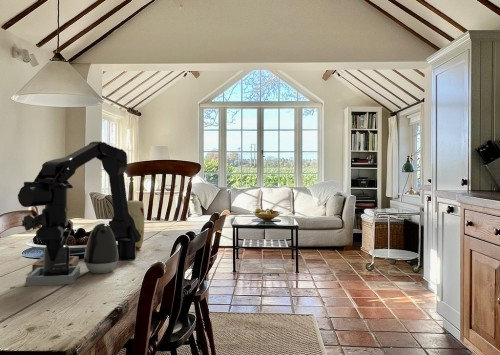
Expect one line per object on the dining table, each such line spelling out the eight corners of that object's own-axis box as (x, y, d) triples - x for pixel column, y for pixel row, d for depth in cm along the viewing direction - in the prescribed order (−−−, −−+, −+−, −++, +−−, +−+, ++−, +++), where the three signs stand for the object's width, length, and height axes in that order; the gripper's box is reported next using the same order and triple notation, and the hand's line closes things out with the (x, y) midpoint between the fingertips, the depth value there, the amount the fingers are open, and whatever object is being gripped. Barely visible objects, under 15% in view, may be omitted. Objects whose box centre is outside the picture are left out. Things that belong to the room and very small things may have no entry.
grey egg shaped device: (85, 277, 122) (86, 226, 122) (82, 269, 131) (83, 222, 131) (121, 273, 127) (122, 224, 127) (115, 266, 136) (116, 220, 136)
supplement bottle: (59, 281, 115) (59, 238, 115) (37, 279, 117) (38, 237, 117) (74, 275, 122) (74, 235, 122) (53, 273, 123) (54, 234, 123)
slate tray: (80, 273, 126) (80, 266, 126) (73, 283, 115) (73, 275, 115) (37, 274, 124) (37, 267, 124) (25, 285, 112) (25, 277, 112)
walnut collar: (78, 263, 140) (78, 256, 140) (72, 271, 128) (72, 263, 128) (41, 264, 137) (42, 257, 137) (32, 272, 126) (32, 264, 126)
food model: (117, 251, 162) (118, 200, 162) (119, 248, 168) (120, 199, 168) (143, 250, 164) (144, 200, 163) (144, 247, 170) (145, 199, 170)
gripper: (34, 202, 126) (34, 252, 126) (14, 207, 108) (14, 266, 108) (73, 201, 129) (72, 251, 129) (60, 207, 111) (60, 265, 111)
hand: (55, 258), depth 119 cm, fingers closed on supplement bottle, 7 cm apart
